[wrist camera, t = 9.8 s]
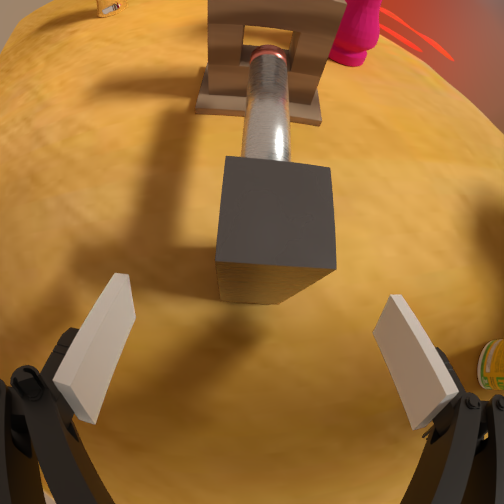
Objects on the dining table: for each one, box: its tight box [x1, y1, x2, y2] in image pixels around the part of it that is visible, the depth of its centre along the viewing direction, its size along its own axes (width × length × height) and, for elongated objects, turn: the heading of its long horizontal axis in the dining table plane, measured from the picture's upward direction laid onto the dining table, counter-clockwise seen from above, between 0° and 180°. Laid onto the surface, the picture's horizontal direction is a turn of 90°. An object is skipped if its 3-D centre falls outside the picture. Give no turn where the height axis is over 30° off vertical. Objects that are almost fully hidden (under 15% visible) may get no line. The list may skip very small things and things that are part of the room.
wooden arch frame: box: [195, 0, 347, 126], centre depth 20 cm, size 8×12×13 cm, turn 87°
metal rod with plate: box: [215, 45, 336, 304], centre depth 17 cm, size 18×4×11 cm, turn 177°
